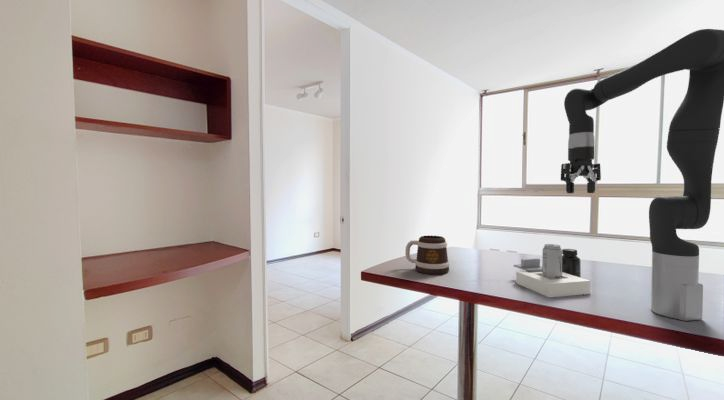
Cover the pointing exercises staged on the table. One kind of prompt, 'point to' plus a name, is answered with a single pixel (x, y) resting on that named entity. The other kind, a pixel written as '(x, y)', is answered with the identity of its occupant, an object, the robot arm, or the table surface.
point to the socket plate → (553, 284)
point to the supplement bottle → (571, 262)
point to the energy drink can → (552, 261)
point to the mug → (430, 255)
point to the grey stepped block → (530, 264)
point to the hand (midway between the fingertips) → (580, 193)
